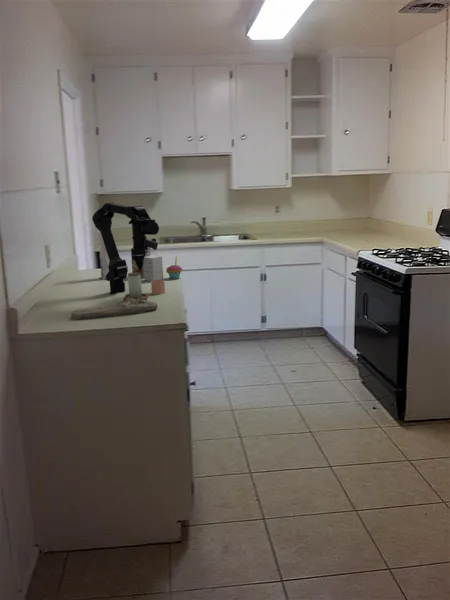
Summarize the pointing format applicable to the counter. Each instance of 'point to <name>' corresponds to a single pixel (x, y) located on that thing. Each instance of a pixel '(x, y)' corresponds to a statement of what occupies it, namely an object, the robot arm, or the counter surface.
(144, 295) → the walnut tray
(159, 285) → the terracotta cup
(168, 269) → the cupcake
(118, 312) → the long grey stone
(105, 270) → the skyscraper
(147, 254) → the coffee box
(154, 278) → the supplement box
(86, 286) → the counter surface
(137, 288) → the spice jar
